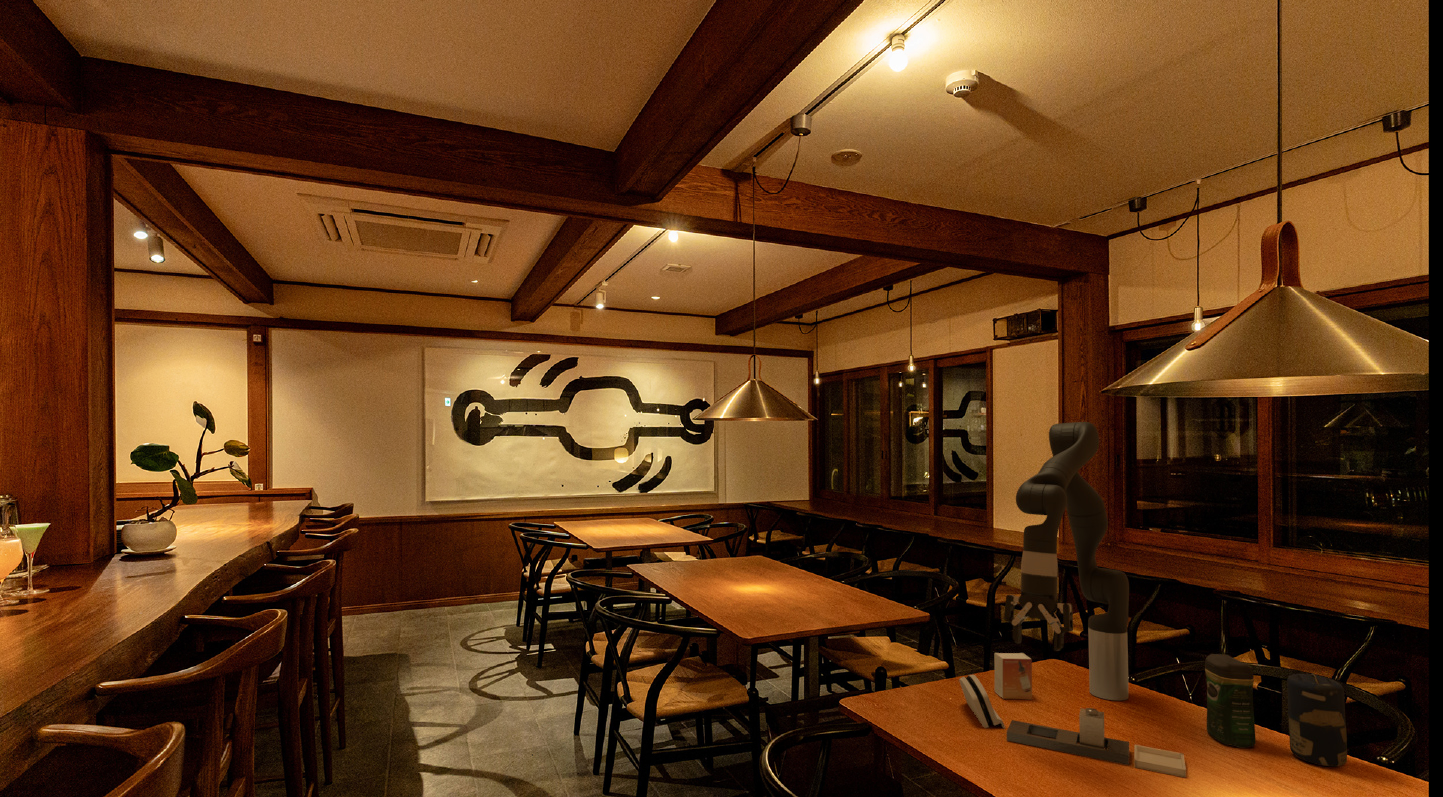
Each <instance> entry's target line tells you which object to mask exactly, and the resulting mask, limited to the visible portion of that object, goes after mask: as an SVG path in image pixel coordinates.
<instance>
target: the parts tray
mask: <svg viewBox="0 0 1443 797" xmlns="http://www.w3.org/2000/svg"><path fill="white" fill-rule="evenodd" d="M1134 768H1137V769H1141V770H1146V771H1149V772H1150V771H1151V772H1156V773H1161V774H1165V775H1171V776H1174V777H1175V776H1176V777H1182V778H1185V779H1187V767H1186V762H1185V756H1184V753H1182V752H1176V751H1171V750H1166V749H1159V748H1155V747H1151V746H1144V745H1139V744H1134Z"/></svg>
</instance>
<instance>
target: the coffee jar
mask: <svg viewBox="0 0 1443 797" xmlns="http://www.w3.org/2000/svg"><path fill="white" fill-rule="evenodd" d="M1204 663H1205V664H1204V671H1205V676H1206V677H1205V678H1206V731H1207V734H1209V736H1210V737H1212V738H1214V740H1216V741H1218V742H1220V743H1221V744H1223V745H1228V746H1232V747H1236V748H1239V749H1240V748H1241V749H1243V748H1244V749H1246V748H1251V747H1255V745H1256V744H1257V740H1256V739H1257V738H1256V726H1255V714H1254V713H1255V712H1254V696H1253V689H1254V684H1255V683H1254V682H1255V678H1254V672H1253V671H1254V669H1253V667H1252V666H1251V665H1249V664H1248V663H1245V662H1243V661H1241V660H1239V659H1236V658H1235V657H1232V656H1230V655H1229V654H1224V653H1222V654H1221V653H1210V654H1209V655H1207V656H1206V658H1205V662H1204Z"/></svg>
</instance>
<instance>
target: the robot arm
mask: <svg viewBox="0 0 1443 797" xmlns="http://www.w3.org/2000/svg"><path fill="white" fill-rule="evenodd" d="M1048 441H1049V447H1050V450H1051V455H1052V457H1050V458H1048V460H1046V461H1045V462H1044V463H1043V464H1042V466H1041V468H1040V470H1039V471H1038V473H1036V474H1034V475H1033V476H1031V477H1029V478H1028V479H1026V480H1025V481H1024V482H1023V483H1021V485H1019V488H1018V489H1017V491H1016V494H1015V504H1016V507H1017V508H1018V510H1020V512H1022V513H1024V514H1027V515H1038V516H1046V517H1045V520H1044V521H1043V522H1042V523H1039V524H1032V525H1031V524H1030V525H1026V526H1025V527H1024V530H1023V542H1022V543H1023V544H1022V545H1023V547H1022V557H1021V566H1020V570H1021V571H1020V572H1021V573H1020V595H1019V596H1017V595H1015V594H1007V595H1006V596H1005V603H1004V604H1005V605H1004V614H1003V615H1004V616H1003V619H1004V621H1005V622H1008V623H1009V624H1011V626H1012V640H1013V641H1014V643H1015V644H1021V643H1022V640H1023V639H1022V637H1023V636H1022V635H1023V626H1022V623H1023V622H1024V621H1025V620H1026V619H1027V618H1029V619H1030V618H1031V619H1037V620H1041V621H1047V622H1048V624H1049V625H1050V626H1051V627H1052V629H1053V630H1054V632H1055V633H1053V634H1054V635H1053V636H1054V637H1053V651H1056V652H1060V651H1061V650H1062V649H1063V648H1064V644H1065V643H1064V636H1065V634H1066V633H1070V632H1073V631H1074V615H1073V614H1074V612H1073V603H1069V602H1068V603H1067V602H1066V603H1060V602H1058V571H1059V570H1058V568H1059V567H1058V565H1059V564H1058V555H1057V553H1058V534H1059V531H1060V526H1061V523H1062V519H1063V517H1064V516H1063V515H1064V513H1065V510H1066V514H1067V518H1068V522H1069V527H1070V530H1071V534H1072V538H1073V543H1074V549H1075V552H1076V554H1075V555H1076V561H1077V563H1076V564H1077V570H1078V578H1079V584H1080V586H1079V587H1080V589H1081V593H1082V595H1083V597H1084V598H1085V599H1087V601H1090V602H1095V603H1099V604H1100V603H1101V604H1106V605H1108V608H1107V612H1104V613H1099V614H1098V613H1097V614H1093V615H1090V616H1089V617H1088V621H1087V627H1088V629H1087V630H1088V634H1087V635H1088V665H1089V666H1088V667H1089V668H1088V669H1089V670H1088V672H1089V674H1088V675H1089V676H1088V677H1089V678H1088V680H1089V682H1088V683H1089V693H1090V694H1091V695H1092V696H1095V697H1097V698H1099V699H1103V700H1109V701H1110V700H1111V701H1126V700H1128V699H1129V653H1128V650H1129V649H1128V647H1129V646H1128V623H1129V604H1130V603H1129V601H1130V582H1129V579H1128V577H1127V575H1126V573H1125V572H1123V571H1122V570H1117V569H1111V568H1106V567H1105V568H1104V567H1098V565H1097V560H1096V552H1097V550H1098V547H1099V545H1100V544H1101V542H1102V541H1103V538H1104V537H1105V535H1106V533H1107V531H1108V528H1109V527H1108V526H1109V521H1108V515H1107V511H1106V506H1105V502H1104V500H1103V498H1102V497H1101V495H1100V494H1099V493H1098V491H1096V489H1095V488H1094V487H1093V486H1092V485H1091V484H1089V482H1088V481H1087V480H1086V479H1084V478H1083V476H1082V475H1081V474H1080V472H1079V471H1080V470H1081V468H1083V467H1084V466H1085V465H1086V464H1088V462H1089V461H1090V460H1091V459H1092V458H1093V457H1094V456H1095V455H1096V454H1097V452H1098V450H1099V447H1100V446H1099V445H1100V437H1099V433H1098V430H1097V427H1096V426H1095V425H1094V423H1091V422H1090V421H1076V422H1074V421H1073V422H1063V423H1055V424H1052V425H1051V426H1050V428H1049V430H1048ZM1018 603H1019V605H1020V606H1021V610H1020V611H1019V612H1018V613H1017V615H1016V616H1015V606H1016V605H1017V604H1018ZM1057 610H1060V613H1061V614H1062V617H1063V618H1062V619H1063V621H1062V622H1063V625H1062V624H1061V622H1060V619H1059V618H1058V616H1057V614H1056V611H1057ZM1014 616H1015V617H1014Z"/></svg>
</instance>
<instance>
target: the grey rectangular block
mask: <svg viewBox="0 0 1443 797" xmlns="http://www.w3.org/2000/svg"><path fill="white" fill-rule="evenodd" d="M1079 709H1080V710H1079V717H1078V718H1079V733H1080V743H1079V744H1081V745H1087V746H1092V747H1097V748H1102V749H1106V748H1105V712H1104V711H1099V710H1098V709H1096V708H1094V707H1093V708H1092V707H1086V708H1082V707H1081V708H1079Z"/></svg>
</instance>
